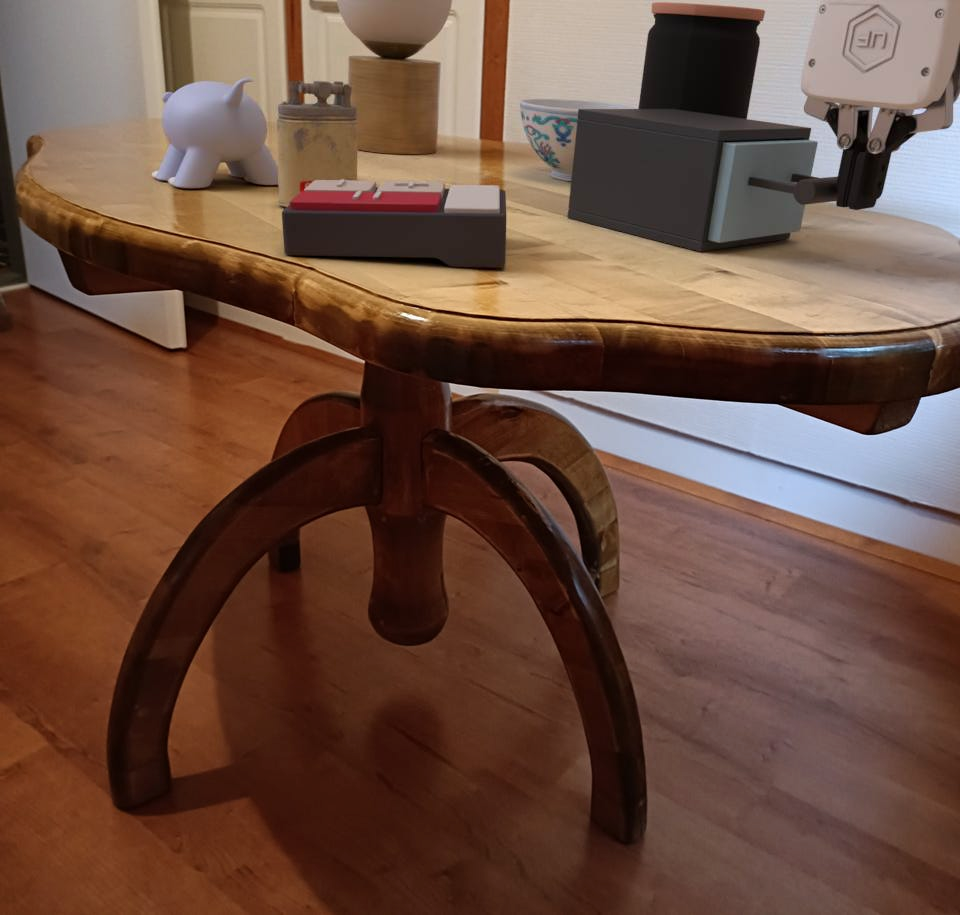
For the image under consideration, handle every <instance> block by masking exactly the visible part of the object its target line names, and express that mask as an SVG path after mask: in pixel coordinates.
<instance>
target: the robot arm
mask: <svg viewBox="0 0 960 915" xmlns="http://www.w3.org/2000/svg"><path fill="white" fill-rule="evenodd" d="M806 48H807V49H806V52H805V57H804V62H803V66H802V71H801V72H802V73H801V78H800V89H801V92H802V94H804V95H805V96H806V100H805V103H804V105H803V112H804V113H805V114H806V115H808V116H810V117H812V118H815V119H817V120H819V121H821V122H826V123H827V124H828V125H829V127H830V129H831V130H832V132H833V134H834V135H835V137H836V145H837V147H838V148H839V149H841V150H842V153H841V157H840V163H839V168H838V173H837V174H838V175H837V177H838V178H837V183H836V192H837V193H838V196H837V201H835V204H836V207H839V208H843V209H844V208H848V210H854V211H860V210H866V209H871V208H874V207H875V206H876V204H877V201H878V200H879V199H880V198H881V196H882V194H883V192H884V188H885V184H886V179H887V174H888V169H889V166H890V163H891V162H890V161H891V157H892V153H896V152H897V151H899V149H900V148H901V146H902V145H904V144H905V143H906V142H908V141H909V140H910V139H911V138H913V137H914V136H916V135H917V134H918V133H919V134H920V133H926V132H934V131H942V130H947V129H949V128H951V127H952V125H953V124H954V103H956V102H957V100H958V98H959V97H960V0H819V2H818V6H817V10H816V13H815V16H814V20H813V25H812V28H811V31H810V35H809V39H808V43H807V47H806ZM874 108H879V110H878V113H877V115H876V118H875V121H874V124H873V115H874V114H873V113H874ZM920 109H921V110H923V109H924V111H923V112H921V113H915V114H914V111H915V110H920ZM872 126H873V128H872Z"/></svg>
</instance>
